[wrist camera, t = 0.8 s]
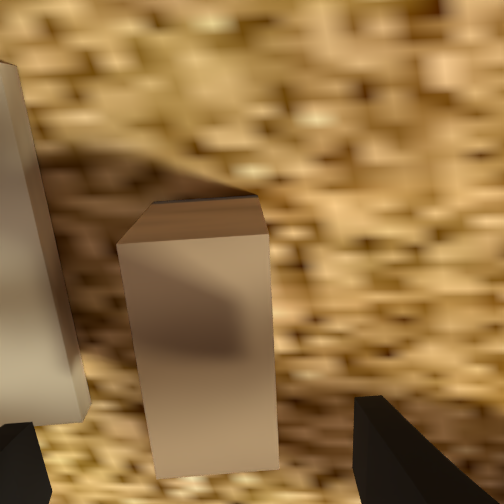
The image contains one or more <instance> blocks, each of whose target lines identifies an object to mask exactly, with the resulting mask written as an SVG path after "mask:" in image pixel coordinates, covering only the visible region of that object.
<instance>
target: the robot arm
mask: <svg viewBox="0 0 504 504" xmlns="http://www.w3.org/2000/svg"><path fill="white" fill-rule="evenodd" d="M352 468H353V472H354V476H355V480H356V484H357V488H358V492H359V496H360V499H361V503H362V504H499V503H498V502H497V501H496V500H495V499H493V498H492V497H491V496H490V495H489V494H487V493H486V492H485V491H484V490H483V489H481V488H480V487H479V486H478V485H477V484H476V483H474V482H473V481H472V480H471V479H470V478H469V477H468V476H466V475H465V474H464V473H463V472H462V471H461V470H460V469H459V468H457V467H456V466H455V465H454V464H453V463H452V462H451V461H450V460H449V459H448V458H446V457H445V456H444V455H443V454H442V453H441V452H440V451H439V450H438V449H437V448H436V447H434V446H433V445H432V444H431V443H430V442H429V441H428V440H427V439H426V438H425V437H424V436H423V435H422V434H421V433H420V432H419V431H418V430H417V429H416V428H415V427H414V426H413V425H412V424H410V423H409V422H408V421H407V420H406V419H405V418H404V417H403V416H402V415H401V414H400V413H399V412H398V411H397V410H396V409H395V408H394V407H393V406H392V405H391V404H390V403H389V402H388V401H387V400H386V399H385V398H384V397H383V396H382V395H379V396H366V397H355V400H354V434H353V467H352ZM51 494H52V488H51V485H50V481H49V478H48V474H47V471H46V467H45V464H44V460H43V457H42V453H41V450H40V446H39V443H38V439H37V436H36V432H35V429H34V425H33V422H22V423H8V424H4V425H2V426H1V427H0V504H49V501H50V498H51Z"/></svg>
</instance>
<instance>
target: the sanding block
mask: <svg viewBox="0 0 504 504" xmlns="http://www.w3.org/2000/svg"><path fill="white" fill-rule="evenodd" d="M116 246H117V252H118V258H119V264H120V270H121V275H122V281H123V287H124V293H125V299H126V305H127V310H128V316H129V322H130V328H131V334H132V340H133V345H134V351H135V357H136V363H137V369H138V374H139V380H140V386H141V392H142V398H143V404H144V409H145V415H146V421H147V427H148V433H149V439H150V444H151V450H152V456H153V462H154V468H155V473H156V479H165V478H178V477H190V476H203V475H215V474H228V473H240V472H253V471H266V470H278V469H280V468H279V446H278V424H277V403H276V381H275V359H274V337H273V315H272V293H271V272H270V250H269V233H268V230H267V226H266V223H265V219H264V216H263V212H262V209H261V205H260V202H259V198H258V195H250V196H234V197H219V198H203V199H188V200H173V201H157V202H153V203H152V204H151V205H150V207H149V208H148V209H147V210H146V211H145V212H144V213H143V214H142V216H141V217H140V218H139V219H138V220H137V221H136V222H135V223H134V225H133V226H132V227H131V228H130V229H129V230H128V231H127V233H126V234H125V235H124V236H123V237H122V238H121V239H120V240H119V242H118V243H117V244H116Z"/></svg>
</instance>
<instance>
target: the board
mask: <svg viewBox="0 0 504 504" xmlns="http://www.w3.org/2000/svg"><path fill="white" fill-rule="evenodd" d="M91 404H92V403H91V399H90V394H89V390H88V385H87V381H86V376H85V372H84V367H83V363H82V358H81V354H80V349H79V345H78V340H77V336H76V331H75V327H74V322H73V318H72V313H71V309H70V304H69V300H68V295H67V291H66V286H65V282H64V277H63V273H62V268H61V263H60V259H59V254H58V250H57V245H56V241H55V236H54V232H53V227H52V223H51V218H50V214H49V209H48V205H47V200H46V196H45V191H44V187H43V182H42V178H41V173H40V169H39V164H38V160H37V155H36V151H35V146H34V142H33V137H32V133H31V128H30V124H29V119H28V115H27V110H26V106H25V101H24V97H23V92H22V88H21V83H20V79H19V74H18V70H17V66H15V65H10V64H5V63H1V62H0V427H1V426H2V425H4V424H8V423H22V422H33V425H34V426H42V425H55V424H68V423H81V422H83V420H84V418H85V416H86V414H87V412H88V410H89V408H90V406H91Z"/></svg>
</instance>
